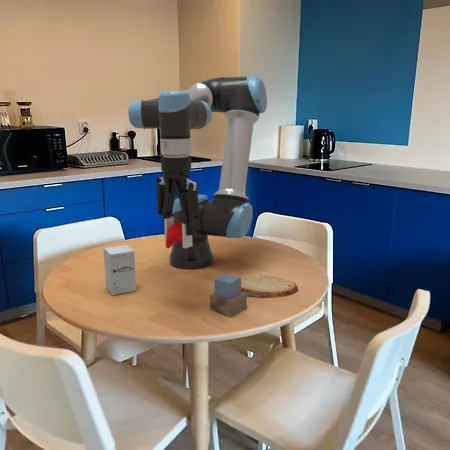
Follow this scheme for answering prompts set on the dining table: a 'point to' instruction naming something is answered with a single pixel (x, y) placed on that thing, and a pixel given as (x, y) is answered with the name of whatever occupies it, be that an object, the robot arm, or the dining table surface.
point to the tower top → (227, 286)
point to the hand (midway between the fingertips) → (178, 244)
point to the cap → (174, 234)
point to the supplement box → (120, 269)
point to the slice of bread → (266, 286)
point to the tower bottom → (228, 304)
